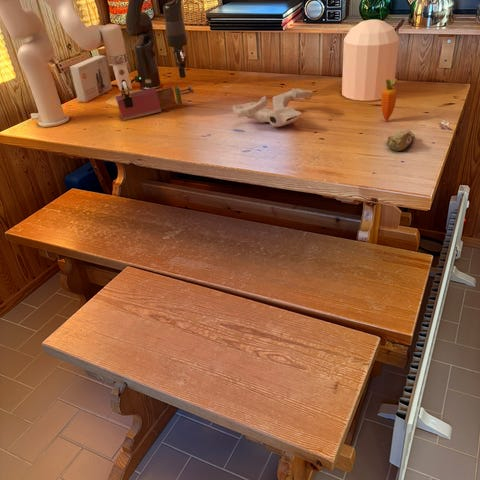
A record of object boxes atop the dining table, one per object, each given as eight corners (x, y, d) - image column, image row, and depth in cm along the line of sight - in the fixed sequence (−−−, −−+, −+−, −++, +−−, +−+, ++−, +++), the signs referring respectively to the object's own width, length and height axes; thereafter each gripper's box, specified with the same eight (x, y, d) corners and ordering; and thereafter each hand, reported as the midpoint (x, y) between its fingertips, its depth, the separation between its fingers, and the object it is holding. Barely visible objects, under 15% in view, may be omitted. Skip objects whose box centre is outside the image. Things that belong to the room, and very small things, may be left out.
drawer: (193, 97, 200) (190, 82, 196) (195, 100, 196) (193, 85, 192) (145, 108, 196) (141, 93, 192) (147, 112, 192) (143, 96, 188)
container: (362, 104, 181) (368, 27, 165) (331, 91, 197) (333, 20, 182) (404, 93, 188) (413, 18, 172) (371, 81, 204) (376, 12, 188)
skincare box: (87, 102, 214) (77, 67, 204) (78, 102, 215) (68, 66, 206) (113, 88, 229) (105, 54, 220) (104, 88, 231) (96, 54, 222)
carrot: (394, 118, 167) (398, 76, 158) (393, 123, 163) (397, 80, 154) (379, 117, 168) (383, 75, 160) (378, 122, 165) (382, 80, 156)
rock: (408, 140, 153) (379, 139, 152) (414, 122, 149) (384, 120, 148) (421, 154, 144) (391, 153, 143) (428, 135, 140) (396, 133, 139)
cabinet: (158, 107, 198) (154, 87, 193) (161, 111, 193) (156, 91, 188) (121, 116, 194) (115, 96, 190) (123, 120, 190) (117, 100, 185)
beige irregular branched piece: (230, 133, 167) (227, 101, 161) (244, 110, 188) (241, 81, 182) (308, 133, 161) (308, 99, 155) (313, 109, 182) (314, 78, 176)
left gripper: (130, 62, 174) (140, 109, 184) (124, 53, 187) (134, 97, 198) (110, 65, 172) (121, 112, 182) (106, 56, 186) (116, 100, 196)
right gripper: (189, 34, 177) (195, 79, 187) (181, 28, 188) (187, 72, 198) (170, 37, 176) (177, 83, 185) (163, 31, 186) (170, 75, 196)
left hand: (128, 104), depth 190 cm, fingers closed on cabinet, 6 cm apart
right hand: (182, 77), depth 192 cm, fingers closed
